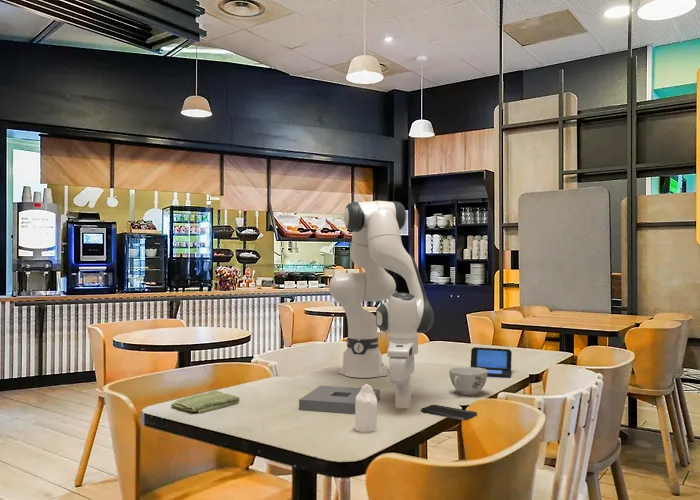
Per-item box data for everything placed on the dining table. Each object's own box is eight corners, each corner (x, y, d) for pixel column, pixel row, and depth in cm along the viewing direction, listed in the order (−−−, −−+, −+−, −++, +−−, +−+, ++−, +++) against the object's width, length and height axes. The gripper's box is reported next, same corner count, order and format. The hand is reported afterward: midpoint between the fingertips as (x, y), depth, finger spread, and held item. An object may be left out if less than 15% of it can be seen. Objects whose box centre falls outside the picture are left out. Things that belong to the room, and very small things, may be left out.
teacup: (462, 387, 209) (462, 364, 209) (494, 393, 200) (494, 369, 200) (437, 395, 197) (437, 370, 197) (471, 401, 189) (471, 375, 189)
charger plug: (398, 404, 185) (398, 373, 185) (411, 405, 184) (411, 374, 184) (395, 407, 181) (395, 375, 181) (408, 408, 180) (408, 376, 180)
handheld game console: (468, 376, 229) (468, 352, 229) (471, 370, 242) (471, 347, 242) (511, 378, 225) (511, 354, 225) (511, 372, 238) (511, 348, 238)
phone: (433, 404, 182) (478, 412, 173) (433, 408, 182) (478, 416, 173) (419, 409, 176) (465, 417, 167) (419, 413, 176) (465, 422, 167)
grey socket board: (320, 394, 198) (320, 385, 198) (380, 398, 192) (380, 389, 192) (299, 409, 178) (299, 399, 178) (364, 414, 173) (364, 404, 173)
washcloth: (168, 409, 181) (168, 398, 181) (216, 398, 194) (216, 388, 194) (195, 416, 172) (195, 405, 172) (243, 405, 186) (242, 394, 186)
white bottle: (368, 380, 163) (382, 384, 158) (368, 425, 163) (381, 429, 158) (350, 383, 159) (363, 386, 155) (350, 428, 159) (363, 433, 154)
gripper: (399, 341, 193) (399, 385, 193) (386, 351, 174) (385, 399, 173) (419, 342, 192) (419, 386, 191) (407, 352, 172) (407, 401, 172)
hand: (403, 393), depth 182 cm, fingers open, 5 cm apart
